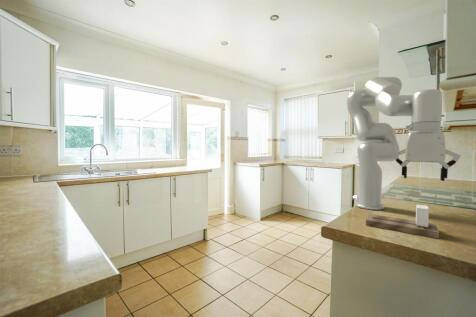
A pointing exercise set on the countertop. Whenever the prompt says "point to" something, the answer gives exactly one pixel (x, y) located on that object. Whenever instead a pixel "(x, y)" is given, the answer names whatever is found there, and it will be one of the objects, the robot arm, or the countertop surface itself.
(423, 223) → the fader tab
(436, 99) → the robot arm
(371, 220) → the fader board
